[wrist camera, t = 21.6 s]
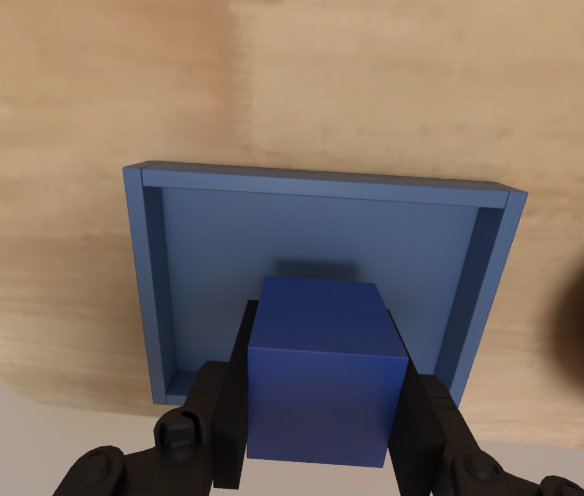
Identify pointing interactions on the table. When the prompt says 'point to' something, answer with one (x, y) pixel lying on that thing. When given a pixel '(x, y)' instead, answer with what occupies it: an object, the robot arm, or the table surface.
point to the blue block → (322, 373)
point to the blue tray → (312, 256)
